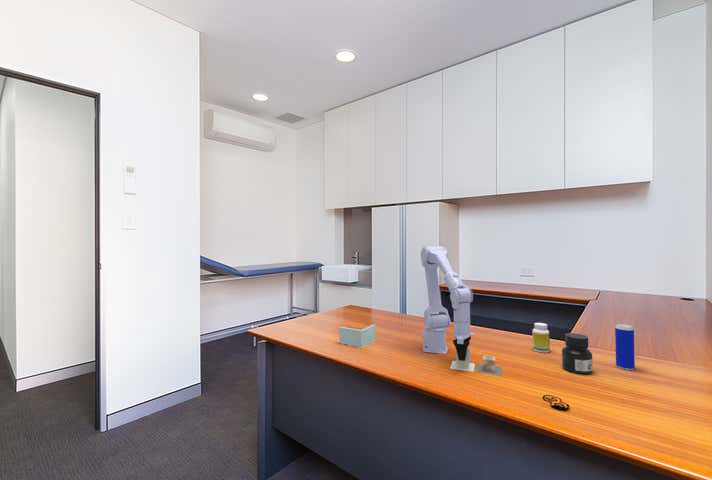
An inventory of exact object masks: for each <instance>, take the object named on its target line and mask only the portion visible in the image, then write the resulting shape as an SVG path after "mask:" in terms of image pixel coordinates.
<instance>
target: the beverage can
mask: <svg viewBox="0 0 712 480" xmlns="http://www.w3.org/2000/svg"><path fill="white" fill-rule="evenodd" d="M614 337H615V340H614V341H615V344H614V345H615V365H616V367H617V368H618V369H621V370H624V369H625V371H633V370H634V369H635V367H636V366H635V363H636V362H635V360H636V359H635V358H636V357H635V328H634V326H632V325H629V324H624V323H617V324H616V325H615V326H614Z"/></svg>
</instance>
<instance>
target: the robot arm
mask: <svg viewBox="0 0 712 480" xmlns="http://www.w3.org/2000/svg"><path fill="white" fill-rule="evenodd" d="M448 257H449V254H448V250H447V248H446V246H445V245H438V246H425V245H424V246H423V247H422V249H421V251H420V260H421V266H422V267H423V268H424V271H425V280H426V286H427V287H426V289H427V296H428V297H427V298H428V304H429V306H428V307H427V308H426V309H425V310H424V311H423V325H424V327H425V328H423V330H422V352H423V353H430V354H431V353H433V354H447V352H448V350H449V347H447V330H449V327H450V326H451V318H450V315H449V311H448V309H447V308H446V307H444V306H443V304H442V298H441V291H440V290H441V289H440V282H439V274H438V267H439V269H440V270H441V271H442V274H443V275H444V279H443V281H444V283H445V285H446V286H447V288H448V291H449V293H450V294H449V299H450V302H451V307H452V308H453V332H452V333H453V336H454V338H455V339H452V343H453V345H454V347H455V351H456V350H457V355H458V359H459V360H461V361H465V358H466V352H467V348H468V349H469V346H470V343H471V342H470V341H471V340H472V337H474V336H475V334H474V333H473V332H471V303H472V302H473V301H474V293H473V290H472V288H471V287H469V286H467V285H466V284H464V282H463V280H462V279H461V277H460V275H459V273H457V272H456V271H454V270H453V268H452V266H451V264H450V262H449V261H450V260H449V259H448Z"/></svg>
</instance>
